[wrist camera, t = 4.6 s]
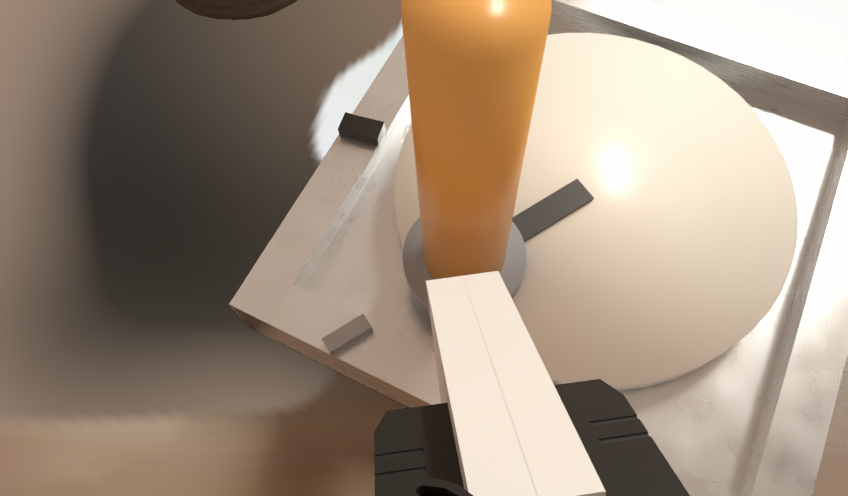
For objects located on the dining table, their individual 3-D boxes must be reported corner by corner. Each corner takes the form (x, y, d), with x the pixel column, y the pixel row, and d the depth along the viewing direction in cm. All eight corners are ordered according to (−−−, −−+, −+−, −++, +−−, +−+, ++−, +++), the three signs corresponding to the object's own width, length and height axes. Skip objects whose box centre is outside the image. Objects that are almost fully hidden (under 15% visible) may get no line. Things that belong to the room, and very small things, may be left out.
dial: (613, 2, 36) (727, -382, 21) (868, 250, 30) (1296, -52, 15) (318, 162, 33) (206, -163, 18) (535, 486, 26) (649, 405, 11)
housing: (462, -12, 40) (463, -69, 36) (871, 128, 35) (921, 78, 31) (249, 328, 32) (223, 299, 28) (749, 579, 26) (798, 584, 23)
